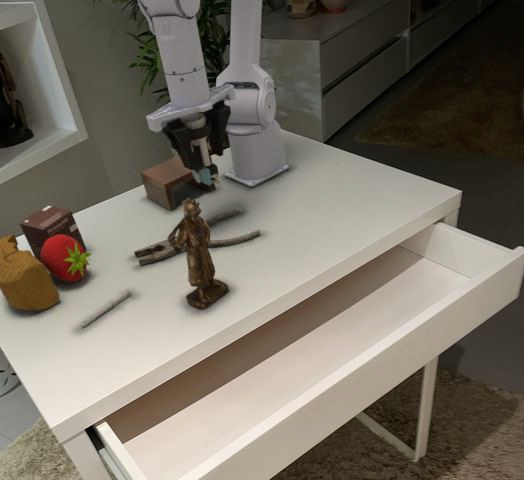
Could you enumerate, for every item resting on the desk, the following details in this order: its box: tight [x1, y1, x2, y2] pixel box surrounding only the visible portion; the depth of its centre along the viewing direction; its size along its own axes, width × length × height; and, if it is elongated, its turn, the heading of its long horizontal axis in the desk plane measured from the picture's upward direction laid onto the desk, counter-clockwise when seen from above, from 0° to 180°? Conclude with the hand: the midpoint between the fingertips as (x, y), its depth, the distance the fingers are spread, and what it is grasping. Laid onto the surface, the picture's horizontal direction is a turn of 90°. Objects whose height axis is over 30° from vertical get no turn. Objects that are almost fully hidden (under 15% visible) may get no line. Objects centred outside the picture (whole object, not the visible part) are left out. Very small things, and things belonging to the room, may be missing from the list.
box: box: [18, 205, 87, 264], centre depth 90 cm, size 6×6×7 cm
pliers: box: [133, 208, 261, 266], centre depth 89 cm, size 10×1×20 cm
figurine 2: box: [0, 233, 60, 312], centre depth 84 cm, size 7×7×15 cm
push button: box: [181, 112, 223, 185], centre depth 86 cm, size 7×5×10 cm
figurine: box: [166, 197, 230, 310], centre depth 73 cm, size 7×4×15 cm, turn 137°
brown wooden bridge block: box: [140, 154, 216, 211], centre depth 102 cm, size 10×8×5 cm
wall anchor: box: [79, 289, 132, 329], centre depth 79 cm, size 1×9×1 cm
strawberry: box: [41, 234, 93, 283], centre depth 84 cm, size 6×8×10 cm
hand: (203, 161), depth 87 cm, fingers closed on push button, 5 cm apart
